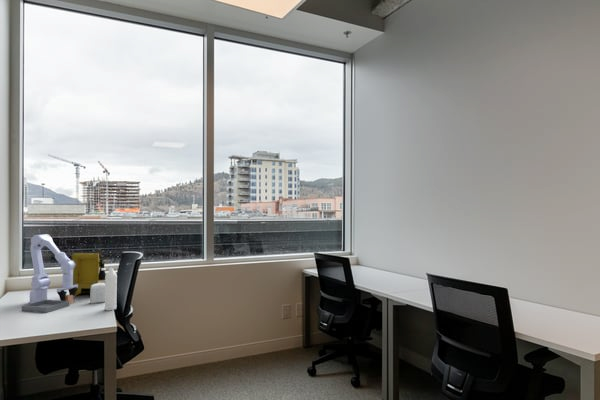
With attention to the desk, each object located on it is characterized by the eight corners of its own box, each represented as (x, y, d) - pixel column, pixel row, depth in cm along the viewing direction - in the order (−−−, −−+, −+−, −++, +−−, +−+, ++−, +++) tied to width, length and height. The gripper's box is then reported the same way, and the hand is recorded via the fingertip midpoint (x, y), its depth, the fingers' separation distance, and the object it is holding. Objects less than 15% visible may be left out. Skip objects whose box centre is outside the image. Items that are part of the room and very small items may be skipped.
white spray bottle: (115, 307, 231) (116, 266, 232) (117, 309, 226) (118, 268, 226) (99, 309, 226) (100, 267, 227) (101, 311, 221) (102, 269, 221)
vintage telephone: (118, 292, 272) (119, 251, 273) (109, 297, 258) (110, 253, 259) (74, 292, 271) (75, 251, 272) (63, 297, 257) (64, 253, 258)
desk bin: (21, 310, 222) (21, 305, 222) (45, 304, 237) (45, 299, 237) (46, 312, 217) (46, 307, 217) (69, 306, 233) (69, 301, 233)
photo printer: (107, 300, 248) (107, 281, 248) (108, 301, 244) (108, 283, 245) (89, 302, 242) (90, 283, 243) (90, 304, 239) (90, 284, 239)
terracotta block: (61, 303, 239) (61, 295, 239) (66, 302, 243) (66, 294, 243) (67, 304, 238) (68, 296, 238) (73, 302, 242) (73, 294, 242)
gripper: (63, 282, 233) (62, 303, 233) (81, 278, 247) (81, 298, 247) (54, 281, 235) (53, 303, 234) (73, 277, 249) (72, 298, 248)
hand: (67, 300), depth 241 cm, fingers open, 6 cm apart
